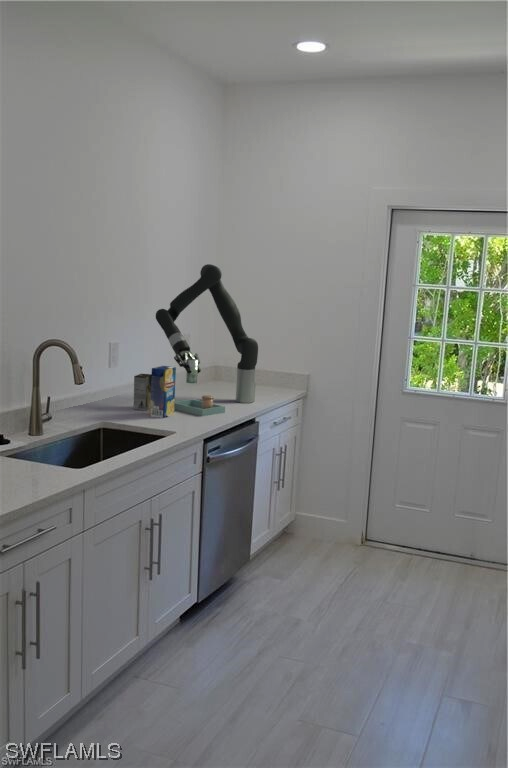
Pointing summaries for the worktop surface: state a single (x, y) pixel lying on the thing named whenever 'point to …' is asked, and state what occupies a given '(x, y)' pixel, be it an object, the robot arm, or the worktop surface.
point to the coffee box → (142, 391)
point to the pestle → (207, 402)
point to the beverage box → (162, 391)
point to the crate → (197, 407)
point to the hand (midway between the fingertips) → (194, 372)
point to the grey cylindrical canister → (193, 375)
